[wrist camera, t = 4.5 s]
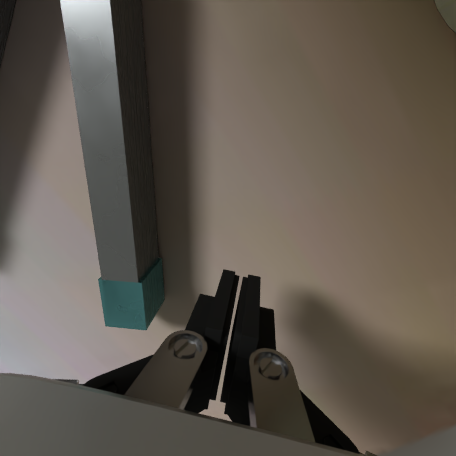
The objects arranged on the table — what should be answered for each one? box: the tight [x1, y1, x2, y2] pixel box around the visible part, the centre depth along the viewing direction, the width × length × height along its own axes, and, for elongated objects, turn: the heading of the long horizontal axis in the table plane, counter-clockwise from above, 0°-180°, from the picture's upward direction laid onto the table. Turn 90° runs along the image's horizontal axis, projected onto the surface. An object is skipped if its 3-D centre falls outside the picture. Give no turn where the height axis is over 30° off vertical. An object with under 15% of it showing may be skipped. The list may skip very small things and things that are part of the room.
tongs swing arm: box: [60, 0, 165, 330], centre depth 13 cm, size 22×5×4 cm, turn 179°
